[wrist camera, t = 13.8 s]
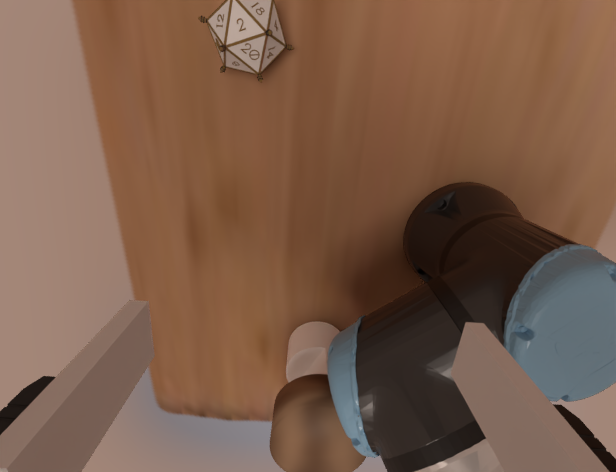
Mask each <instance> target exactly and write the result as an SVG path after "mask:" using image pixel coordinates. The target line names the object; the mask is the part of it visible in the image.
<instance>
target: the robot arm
mask: <svg viewBox="0 0 616 472" xmlns="http://www.w3.org/2000/svg"><path fill="white" fill-rule="evenodd" d="M404 250H405V254H406V257H407V259H408V261H409V263H410V265H411V266H412V268H413V269H414V271H415V272H416V273H417V274H418V276H419V277H420V278H421V279H423V280H424V281H425V282H426V283H424V284H422V285H420V286H419V287H417V288H415V289H414V290H412V291H410V292H408V293H407V294H405V295H403V296H401V297H399V298H398V299H396V300H394V301H392V302H391V303H389V304H387V305H385V306H383V307H382V308H380V309H378V310H376V311H374V312H373V313H371V314H369V315H367V316H365V315H363V316H361V317H360V318H359V319H358V320H357V322H355V323H354V324H352V325H351V326H349V327H347V328H346V329H344V330H343V331H341V332H340V333H338V334H337V335H336V336H335V337H334V338H333V340H332V342H331V344H330V346H329V350H328V361H327V371H328V380H329V385H330V391H331V395H332V399H333V402H334V406H335V409H336V412H337V415H338V417H339V420H340V422H341V425H342V427H343V429H344V431H345V433H346V435H347V437H348V438H351V441H352V444H353V446H354V448H355V449H356V450H357V451H358V452H359V453H360V454H362V455H364V456H367V457H374V458H375V457H377V456H379V455H380V456H381V458H382V460H383V462H384V465H385V467H386V469H387V472H616V459H615V458H614V457H613V456H612V455H611V453H610V452H607V451H606V448H605V447H604V446H603V445H602V443H601V442H600V441H599V440H598V439H597V438H594V435H593V433H592V432H591V431H590V430H589V429H588V428H587V427H586V426H585V424H584V423H583V422H582V421H581V420H580V419H579V418H578V417H576V416H575V415H574V414H572V413H571V412H570V411H568V410H567V409H566V408H565V407H563V406H562V405H553V404H552V403H551V402H550V401H558V400H559V399H560V398H561V399H562V400H564V401H567V402H568V401H577V400H581V399H585V398H588V397H590V396H593V395H595V394H597V393H599V392H601V391H603V390H605V389H607V388H608V387H610V386H611V385H613V384H614V383H615V382H616V263H614V262H613V261H611V260H609V259H608V258H606V257H604V256H603V255H602V254H600V253H598V252H597V250H595V249H593V248H591V247H588V246H585V245H581V244H578V243H576V242H573V241H571V240H569V239H567V238H565V237H562V236H560V235H558V234H556V233H554V232H551V231H549V230H547V229H545V228H543V227H540V226H538V225H536V224H534V223H532V222H529V221H527V220H525V219H524V218H523V216H522V215H521V213H520V212H519V211H518V209H517V207H516V206H515V204H514V203H513V202H512V201H511V200H510V199H509V198H508V197H507V196H505V195H504V194H503V193H501V192H499V191H497V190H495V189H493V188H490V187H488V186H485V185H482V184H478V183H456V184H452V185H448V186H446V187H443V188H441V189H439V190H437V191H435V192H433V193H432V194H430V195H429V196H428V197H426V198H425V199H424V200H423V201H422V202H421V203H420V204H419V205H418V206H417V207H416V209H415V210H414V211H413V213H412V214H411V216H410V218H409V220H408V222H407V225H406V228H405V233H404ZM153 358H154V347H153V338H152V328H151V319H150V310H149V301H135V300H129V301H128V302H127V303H126V304H125V305H124V306H123V307H122V308H121V310H120V311H119V312H118V313H117V314H116V315H115V316H114V317H113V318H112V319H111V320H110V321H109V322H108V323H107V324H106V325H105V326H104V327H103V328H102V329H101V330H100V332H99V333H98V334H97V335H96V336H95V337H94V338H93V339H92V340H91V341H90V342H89V343H88V344H87V345H86V346H85V347H84V349H82V350H81V352H79V354H78V355H77V356H76V357H75V358H74V359H73V360H72V361H71V362H70V363H69V364H68V365H67V366H66V367H65V368H64V369H63V370H62V371H61V372H60V373H59V374H58V375H57V376H56V377H50V376H43V377H42V378H40V379H38V380H37V381H35V382H34V383H32V384H30V385H29V386H27V387H26V388H24V389H23V390H22V391H21V392H20V393H19V394H18V395H17V396H16V397H15V398H14V399H12V400H11V401H10V403H8V406H7V407H4V408H3V409H2V410H1V411H0V472H82V470H83V468H84V467H85V465H86V463H87V462H88V461H89V459H90V457H91V456H92V454H93V453H94V451H95V449H96V448H97V446H98V445H99V443H100V441H101V440H102V438H103V437H104V435H105V434H106V432H107V430H108V429H109V427H110V426H111V424H112V422H113V421H114V419H115V418H116V416H117V414H118V413H119V411H120V410H121V408H122V407H123V405H124V403H125V402H126V400H127V399H128V397H129V396H130V394H131V392H132V391H133V389H134V388H135V386H136V384H137V383H138V381H139V380H140V378H141V377H142V375H143V373H144V372H145V370H146V369H147V367H148V365H149V364H150V362H151V361H152V359H153Z"/></svg>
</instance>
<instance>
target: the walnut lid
mask: <svg viewBox="0 0 616 472" xmlns="http://www.w3.org/2000/svg"><path fill="white" fill-rule="evenodd" d="M270 451H271V454H272V457H273V459H274V460H275V462H276V463H277V464H278V465H279V466H280V467H281V468H282V469H283V470H284V471H286V472H352V471H354V470H355V469H356V468H358V467H359V466H360V465H361V464H362V462H363V461H364V460H365V458H366V456H364V455H362V454H360V453H359V452H358V451H357V450H356V449H355V448H354V446H353V444H352V441H351V438H348V437H347V435H346V433H345V431H344V429H343V427H342V425H341V422H340V420H339V417H338V415H337V412H336V409H335V406H334V402H333V399H332V395H331V391H330V385H329V380H328V375H327V374H311V375H305V376H301V377H299V378H296V379H294V380H292V381H291V382H289V383H288V384H286V385H285V386H284V387H283V388H282V389H281V390H280V392H279V393H278V395H277V397H276V400H275V404H274V412H273V421H272V430H271V437H270Z"/></svg>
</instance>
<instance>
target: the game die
mask: <svg viewBox="0 0 616 472" xmlns="http://www.w3.org/2000/svg"><path fill="white" fill-rule="evenodd" d="M198 19H199V20H200V21H201V22H203V23H204V22H206V23H207V25H208V27H209V30H210V32H211V35H212V37H213V40H214V42H215V45H216V47H217V50H218V52H219V55H220V57H221V60H222V62H223V65H224V66H222V67H221V68H220V73H222V72H225V70H226V67H227V68H231V69H235V70H240V71H244V72H248V73H252V74H256V75H258V77H257V78H258V80H259V81H260V82H261V83H262V80H263V78H262V76H261V73H262V72H263V71H264V70H265V69H266V68H267V67H268V66H269V65H270V64H271V63H272V62H273V61H274V60H275V58H276V57H277V56H278V55H279V54H280V53H281V52H282V51H283V50H284V49H285V48H286V49H288V50H293V49H294V48H293V47H292V46H291V45H286V42H285V38H284V35H283V31H282V27H281V24H280V20H279V17H278V13H277V9H276V6H275V2H274V0H225V1H224V2H223V3H222V4H221V5H220V6H219V7H218V8H217V9H216V10H215V11H214V12H213V13H212V14H211V15H210V16H209V17H208V19H206V18H205V17H202V16H201V17H198Z"/></svg>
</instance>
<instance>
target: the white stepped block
mask: <svg viewBox="0 0 616 472" xmlns="http://www.w3.org/2000/svg"><path fill="white" fill-rule="evenodd" d="M338 333H340V331H339V330H338V329H337V328H335V327H334V326H333V325H331V324H328V323H326V322H319V321H316V322H309V323H305V324H303V325H301V326H299V327H298V328H297V329H296V330H295V331H294V332H293V333H292V334H291V336H290V338H289V343H288V354H287V365H286V376H287V380H288V382H291V381H292V380H294V379H296V378H299V377H301V376H305V375H311V374H327V375H328V371H327V361H328V350H329V346H330V344H331V342H332V340H333V338H334V337H335V336H336V335H337V334H338Z"/></svg>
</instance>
